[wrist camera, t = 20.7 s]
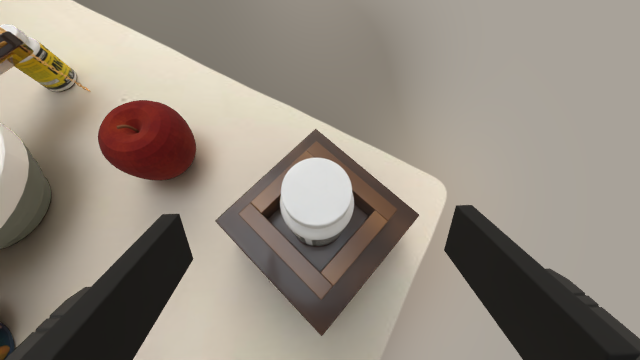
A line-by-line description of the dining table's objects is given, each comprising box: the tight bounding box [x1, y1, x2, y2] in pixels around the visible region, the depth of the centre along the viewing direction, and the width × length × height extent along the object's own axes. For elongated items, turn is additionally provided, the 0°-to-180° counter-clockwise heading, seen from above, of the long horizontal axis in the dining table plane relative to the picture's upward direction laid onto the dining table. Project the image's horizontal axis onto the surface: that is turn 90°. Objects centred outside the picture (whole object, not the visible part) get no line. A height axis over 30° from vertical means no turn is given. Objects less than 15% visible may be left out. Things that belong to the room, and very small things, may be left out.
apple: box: [98, 100, 196, 180], centre depth 31 cm, size 10×10×10 cm
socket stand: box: [216, 129, 419, 336], centre depth 27 cm, size 15×15×11 cm
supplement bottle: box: [0, 24, 77, 91], centre depth 36 cm, size 5×5×8 cm
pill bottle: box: [280, 158, 354, 247], centre depth 20 cm, size 6×6×10 cm
